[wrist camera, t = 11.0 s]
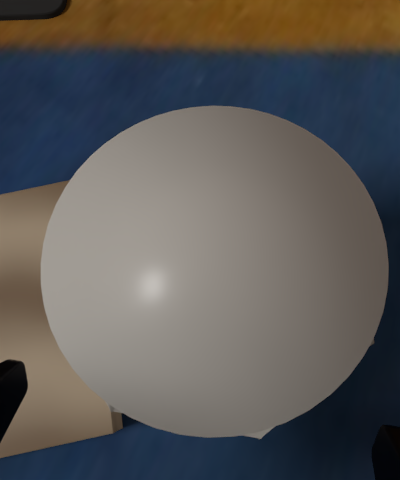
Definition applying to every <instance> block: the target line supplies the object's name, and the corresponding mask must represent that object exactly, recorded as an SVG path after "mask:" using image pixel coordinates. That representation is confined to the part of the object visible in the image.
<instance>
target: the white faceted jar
mask: <svg viewBox="0 0 400 480" xmlns="http://www.w3.org/2000/svg"><path fill="white" fill-rule="evenodd" d="M388 271H389V264H388V253H387V244H386V239H385V235H384V231H383V227H382V223H381V220H380V218H379V215H378V213H377V210H376V208H375V205H374V203H373V201H372V199H371V197H370V195H369V194H368V192H367V190H366V188H365V186H364V185H363V183H362V182H361V180H360V179H359V178H358V176H357V175H356V174H355V172H354V171H353V170H352V168H351V167H350V166H349V165H348V164H347V163H346V162H345V161H344V160H343V159H342V157H341V156H340V155H339V154H338V153H337V152H335V151H334V150H333V149H332V148H331V147H329V146H328V145H327V144H326V143H325V142H323V141H322V140H321V139H319V138H318V137H316V136H315V135H313V134H312V133H310V132H309V131H307V130H305V129H304V128H302V127H300V126H298V125H296V124H294V123H292V122H289V121H287V120H285V119H282V118H279V117H277V116H274V115H271V114H268V113H264V112H260V111H256V110H252V109H246V108H239V107H232V106H203V107H191V108H186V109H180V110H175V111H171V112H168V113H164V114H161V115H157V116H154V117H152V118H150V119H147V120H145V121H142V122H140V123H138V124H136V125H134V126H132V127H130V128H128V129H126V130H125V131H123V132H121V133H119V134H118V135H117V136H115V137H114V138H112V139H111V140H109V141H108V142H106V143H105V144H104V145H103V146H102V147H100V148H99V149H98V150H97V151H96V152H95V153H94V154H92V155H91V156H90V157H89V158H88V159H87V161H86V162H85V163H84V164H83V165H82V166H81V167H80V168H79V169H78V170H77V172H76V173H75V174H74V176H73V177H72V179H71V180H70V181H69V183H68V184H67V186H66V187H65V189H64V191H63V192H62V194H61V196H60V198H59V200H58V201H57V203H56V205H55V208H54V210H53V213H52V215H51V218H50V220H49V223H48V226H47V230H46V234H45V238H44V242H43V249H42V257H41V290H42V297H43V303H44V309H45V312H46V315H47V319H48V322H49V325H50V329H51V331H52V333H53V335H54V337H55V340H56V342H57V344H58V346H59V348H60V350H61V352H62V353H63V355H64V356H65V358H66V359H67V361H68V363H69V364H70V366H71V367H72V369H73V370H74V371H75V372H76V373H77V375H78V376H79V377H80V378H81V379H82V380H83V381H84V383H85V384H86V385H87V386H88V387H89V388H90V389H91V390H92V391H94V392H95V393H96V394H97V395H98V396H99V397H101V398H102V399H103V400H104V401H105V402H106V404H107V405H108V407H109V409H110V411H111V412H118V413H124V414H125V415H127V416H129V417H130V418H133V419H135V420H137V421H140V422H142V423H144V424H147V425H149V426H151V427H154V428H157V429H161V430H165V431H168V432H172V433H176V434H180V435H189V436H198V437H233V436H239V435H243V436H248V437H254V438H259V439H262V437H263V436H264V435H265V434H266V433H268V432H269V431H270V430H271V429H272V428H274V427H275V426H277V425H280V424H283V423H286V422H288V421H290V420H292V419H294V418H295V417H297V416H299V415H301V414H303V413H305V412H307V411H309V410H310V409H312V408H313V407H314V406H316V405H317V404H318V403H320V402H321V401H323V400H324V399H325V398H327V397H328V396H329V395H331V394H332V393H333V392H334V391H335V390H336V389H337V388H338V387H339V386H340V385H341V384H342V383H343V382H344V381H345V380H346V379H347V378H348V377H349V376H350V374H351V373H352V371H353V370H354V369H355V367H356V366H357V365H358V363H359V362H360V361H361V359H362V358H363V357H364V355H365V353H366V351H367V349H368V347H369V346H370V345H372V344H374V336H375V334H376V331H377V328H378V325H379V323H380V320H381V317H382V314H383V311H384V306H385V300H386V295H387V290H388Z"/></svg>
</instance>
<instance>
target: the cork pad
mask: <svg viewBox="0 0 400 480" xmlns="http://www.w3.org/2000/svg"><path fill="white" fill-rule="evenodd" d="M69 181H70V180H69ZM69 181H64V182H59V183H54V184H50V185H45V186H40V187H35V188H30V189H26V190H21V191H16V192H11V193H7V194H2V195H0V363H1V362H3V361H5V360H8V359H12V360H18V361H22V362H23V363H24V364H25V369H26V375H27V381H28V389H27V392H26V395H25V397H24V399H23V401H22V403H21V404H20V406H19V408H18V410H17V412H16V414H15V416H14V418H13V420H12V422H11V424H10V426H9V427H8V429H7V431H6V433H5V435H4V437H3V439H2V441H1V443H0V458H3V457H7V456H12V455H16V454H21V453H25V452H30V451H34V450H39V449H43V448H48V447H52V446H57V445H61V444H66V443H70V442H75V441H79V440H84V439H89V438H93V437H98V436H102V435H107V434H111V433H114V432H116V431H118V430H120V429H122V428H123V424H122V415H121V413H118V412H111V411H110V409H109V407H108V405H107V404H106V402H105V401H104V400H103V399H102V398H101V397H99V396H98V395H97V394H96V393H95V392H94V391H92V390H91V389H90V388H89V387H88V386H87V385H86V384H85V383H84V381H83V380H82V379H81V378H80V377H79V376H78V375H77V373H76V372H75V371H74V370H73V369H72V367H71V366H70V364H69V363H68V361H67V359H66V358H65V356H64V355H63V353H62V352H61V350H60V348H59V346H58V344H57V342H56V340H55V337H54V335H53V333H52V331H51V329H50V325H49V322H48V319H47V315H46V312H45V309H44V303H43V297H42V290H41V257H42V249H43V242H44V238H45V234H46V230H47V226H48V223H49V220H50V218H51V215H52V213H53V210H54V208H55V205H56V203H57V201H58V200H59V198H60V196H61V194H62V192H63V191H64V189H65V187H66V186H67V184H68V183H69Z"/></svg>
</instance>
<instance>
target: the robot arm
mask: <svg viewBox="0 0 400 480" xmlns="http://www.w3.org/2000/svg"><path fill="white" fill-rule="evenodd" d="M27 389H28V381H27V375H26V369H25V364H24V363H23V362H22V361H18V360H12V359H8V360H5V361H3V362H1V363H0V443H1V441H2V439H3V437H4V435H5V433H6V431H7V429H8V427H9V426H10V424H11V422H12V420H13V418H14V416H15V414H16V412H17V410H18V408H19V406H20V404H21V403H22V401H23V399H24V397H25V395H26V392H27ZM372 462H373V468H374V474H375V480H400V427H397V426H391V425H382V426H381V427H380V429H379V431H378V434H377V436H376V439H375V442H374V444H373V447H372Z"/></svg>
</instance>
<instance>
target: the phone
mask: <svg viewBox="0 0 400 480" xmlns="http://www.w3.org/2000/svg"><path fill="white" fill-rule="evenodd" d="M66 3H67V0H0V21H3V20H32V19H49V18H53V17H56V16H58V15H59V14H61V13H62V12H63V10H64V9H65V6H66Z"/></svg>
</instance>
